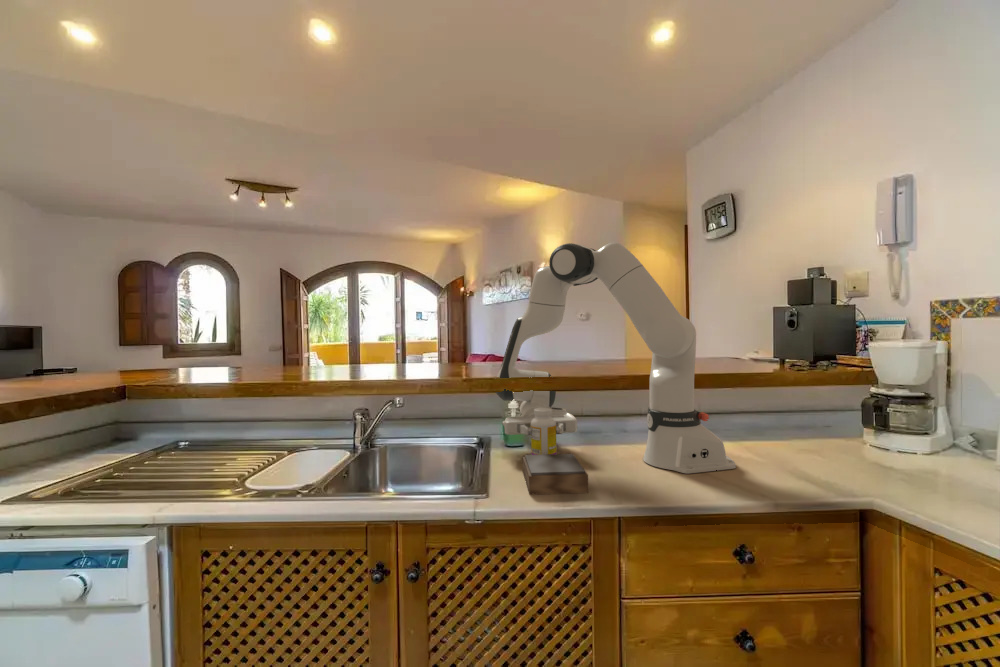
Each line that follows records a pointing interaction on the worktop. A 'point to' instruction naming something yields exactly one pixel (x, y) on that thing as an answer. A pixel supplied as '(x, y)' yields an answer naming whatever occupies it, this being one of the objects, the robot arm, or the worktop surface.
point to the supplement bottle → (543, 432)
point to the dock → (554, 474)
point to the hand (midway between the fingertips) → (543, 431)
